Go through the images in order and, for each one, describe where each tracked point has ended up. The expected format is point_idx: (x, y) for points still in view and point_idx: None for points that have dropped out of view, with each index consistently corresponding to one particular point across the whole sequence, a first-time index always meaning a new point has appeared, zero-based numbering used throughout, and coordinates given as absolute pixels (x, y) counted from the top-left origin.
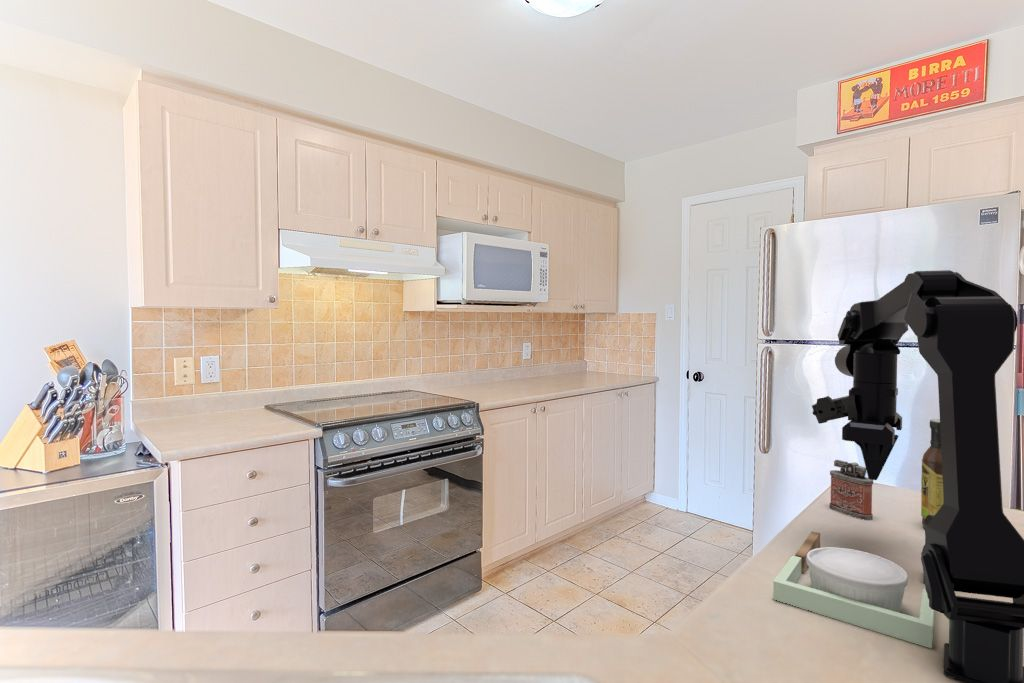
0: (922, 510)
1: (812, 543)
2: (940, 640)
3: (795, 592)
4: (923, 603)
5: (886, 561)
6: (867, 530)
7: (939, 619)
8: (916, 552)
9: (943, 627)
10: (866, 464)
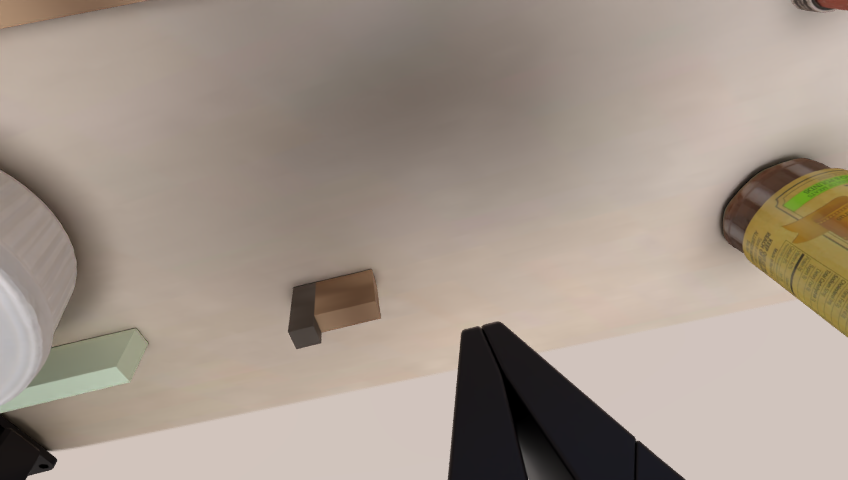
0: (819, 189)
1: (83, 8)
2: None
3: None
4: None
5: (11, 360)
6: (654, 41)
7: None
8: (523, 212)
9: None
10: (453, 441)
